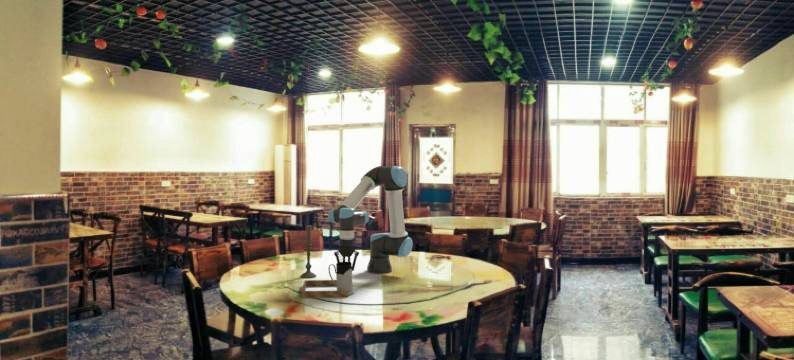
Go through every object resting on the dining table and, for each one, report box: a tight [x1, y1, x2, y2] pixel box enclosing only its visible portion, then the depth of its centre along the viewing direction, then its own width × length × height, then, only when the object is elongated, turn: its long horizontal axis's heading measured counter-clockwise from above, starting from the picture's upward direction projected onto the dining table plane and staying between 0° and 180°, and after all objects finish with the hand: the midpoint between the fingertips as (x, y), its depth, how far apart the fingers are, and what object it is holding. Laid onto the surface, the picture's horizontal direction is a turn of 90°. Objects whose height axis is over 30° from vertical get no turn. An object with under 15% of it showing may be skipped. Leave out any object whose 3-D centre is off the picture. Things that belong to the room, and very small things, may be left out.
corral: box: [300, 279, 349, 299], centre depth 246 cm, size 22×24×3 cm
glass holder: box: [327, 261, 354, 296], centre depth 243 cm, size 9×14×15 cm, turn 58°
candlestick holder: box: [299, 225, 317, 279], centre depth 279 cm, size 9×9×30 cm
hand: (346, 284), depth 247 cm, fingers closed
